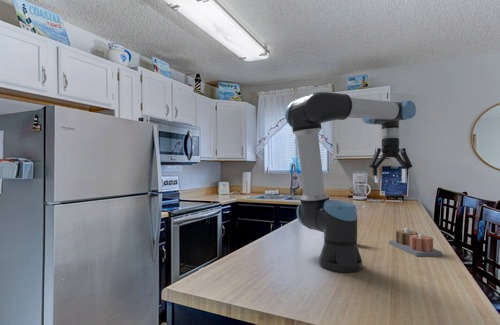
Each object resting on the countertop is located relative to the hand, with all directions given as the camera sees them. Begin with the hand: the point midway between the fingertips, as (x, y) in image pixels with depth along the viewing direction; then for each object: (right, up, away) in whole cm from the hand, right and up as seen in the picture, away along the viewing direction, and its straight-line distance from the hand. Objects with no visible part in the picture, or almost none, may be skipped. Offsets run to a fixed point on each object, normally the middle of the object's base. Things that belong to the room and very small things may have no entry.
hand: (390, 182), depth 140 cm
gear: (+6, -27, -15) cm, 31 cm away
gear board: (+5, -29, -10) cm, 31 cm away
